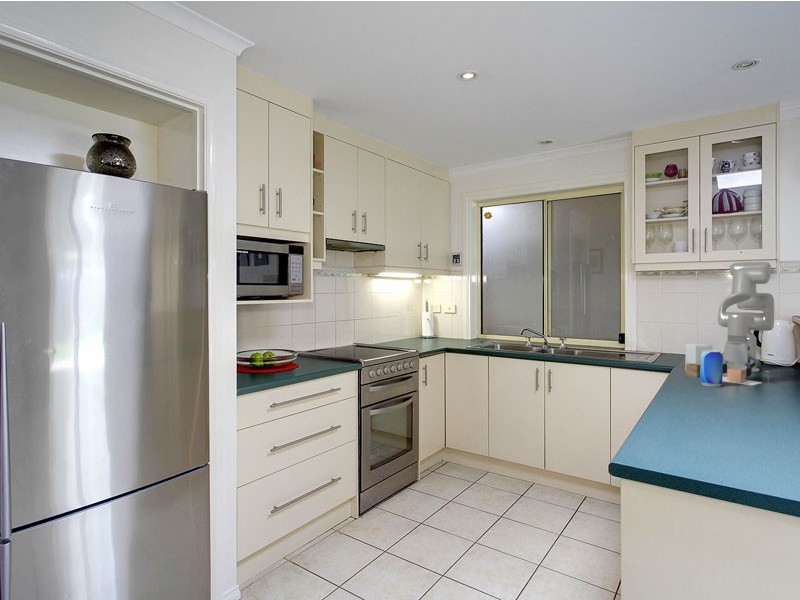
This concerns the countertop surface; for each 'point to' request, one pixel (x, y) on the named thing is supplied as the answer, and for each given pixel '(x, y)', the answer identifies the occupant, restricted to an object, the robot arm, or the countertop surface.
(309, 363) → the countertop surface
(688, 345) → the supplement box
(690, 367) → the walnut block
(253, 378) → the countertop surface
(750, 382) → the letter
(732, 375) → the terracotta cube
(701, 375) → the beer can
